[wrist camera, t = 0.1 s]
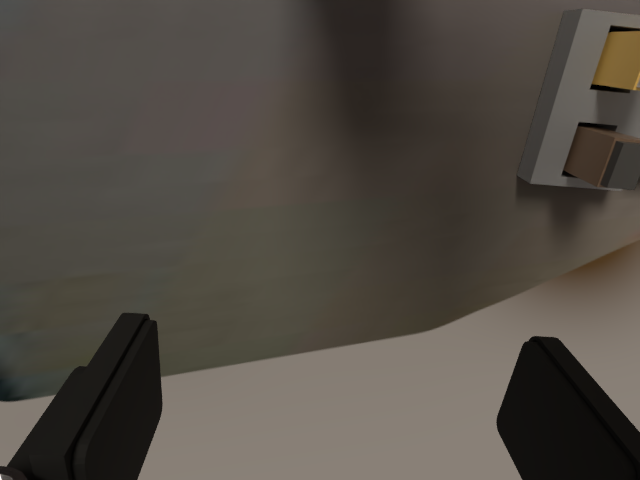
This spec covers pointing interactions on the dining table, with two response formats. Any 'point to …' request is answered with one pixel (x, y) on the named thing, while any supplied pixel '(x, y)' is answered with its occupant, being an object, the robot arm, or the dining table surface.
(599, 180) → the block
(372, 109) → the dining table surface
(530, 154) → the block
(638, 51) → the block
